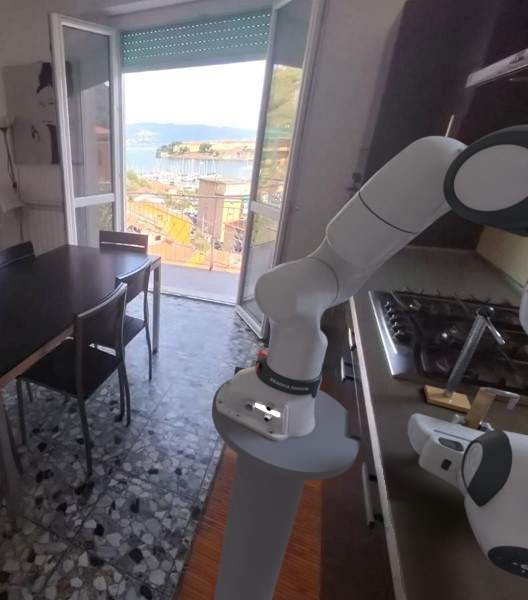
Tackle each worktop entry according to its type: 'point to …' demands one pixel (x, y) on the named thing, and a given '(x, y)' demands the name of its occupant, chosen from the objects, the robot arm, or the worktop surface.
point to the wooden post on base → (486, 405)
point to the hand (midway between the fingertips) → (469, 421)
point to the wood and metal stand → (463, 365)
